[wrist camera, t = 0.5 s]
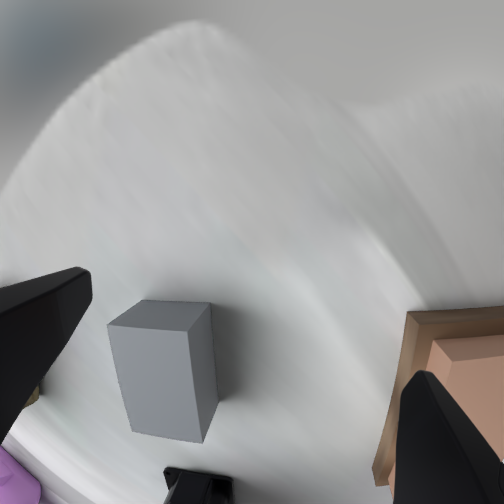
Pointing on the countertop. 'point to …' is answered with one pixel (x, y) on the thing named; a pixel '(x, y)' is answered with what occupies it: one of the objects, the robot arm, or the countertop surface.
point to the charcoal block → (166, 368)
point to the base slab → (416, 358)
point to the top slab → (472, 383)
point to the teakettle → (16, 482)
